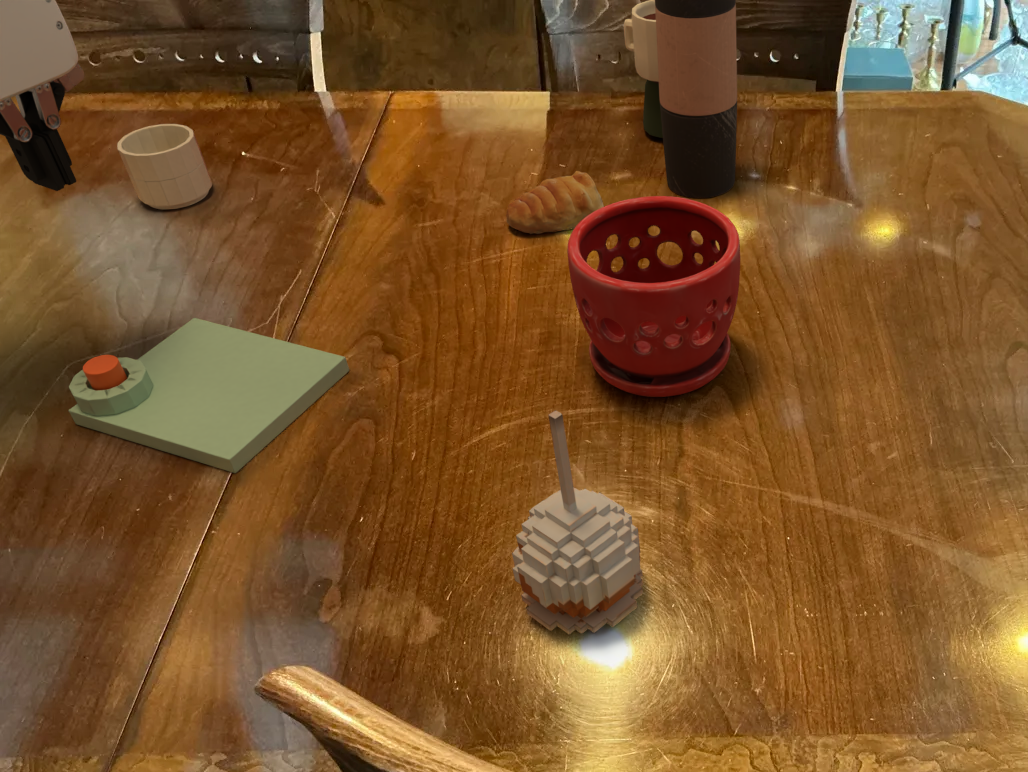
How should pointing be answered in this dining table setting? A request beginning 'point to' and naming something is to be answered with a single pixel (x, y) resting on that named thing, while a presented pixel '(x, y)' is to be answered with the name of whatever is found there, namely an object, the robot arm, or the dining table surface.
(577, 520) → the candy apple
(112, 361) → the tare button
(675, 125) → the travel mug
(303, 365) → the scale
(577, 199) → the pastry
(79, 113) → the dining table surface
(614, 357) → the flower pot
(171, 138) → the white cup
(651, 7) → the character mug
